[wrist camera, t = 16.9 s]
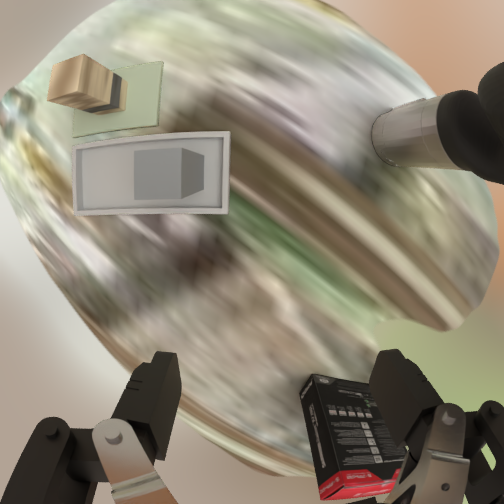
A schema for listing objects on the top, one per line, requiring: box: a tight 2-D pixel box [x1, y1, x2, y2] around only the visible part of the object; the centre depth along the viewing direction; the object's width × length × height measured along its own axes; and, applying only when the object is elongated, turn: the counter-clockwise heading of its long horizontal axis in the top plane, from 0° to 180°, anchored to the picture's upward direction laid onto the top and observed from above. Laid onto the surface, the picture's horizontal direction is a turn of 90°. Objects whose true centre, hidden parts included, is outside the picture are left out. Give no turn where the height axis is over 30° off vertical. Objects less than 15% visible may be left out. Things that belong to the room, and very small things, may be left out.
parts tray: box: [72, 131, 231, 216], centre depth 38 cm, size 26×12×3 cm, turn 88°
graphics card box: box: [299, 374, 407, 500], centre depth 39 cm, size 17×7×27 cm, turn 69°
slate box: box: [134, 148, 204, 200], centre depth 32 cm, size 5×5×14 cm
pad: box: [72, 61, 164, 138], centre depth 35 cm, size 16×11×1 cm
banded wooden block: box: [47, 54, 128, 115], centre depth 28 cm, size 5×5×14 cm
